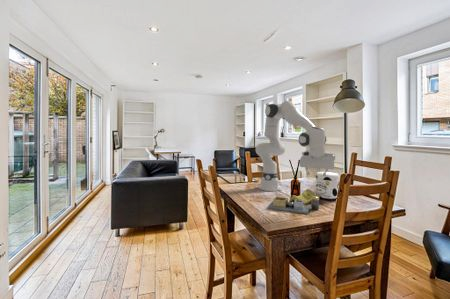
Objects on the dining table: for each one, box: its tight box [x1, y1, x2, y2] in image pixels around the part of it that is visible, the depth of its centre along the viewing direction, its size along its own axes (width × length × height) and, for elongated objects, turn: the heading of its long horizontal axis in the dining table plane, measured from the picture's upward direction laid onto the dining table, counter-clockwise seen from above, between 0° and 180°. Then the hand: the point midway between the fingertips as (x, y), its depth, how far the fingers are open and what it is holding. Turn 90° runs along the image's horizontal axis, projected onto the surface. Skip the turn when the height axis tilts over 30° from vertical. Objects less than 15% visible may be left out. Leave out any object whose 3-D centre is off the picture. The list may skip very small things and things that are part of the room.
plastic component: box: [288, 188, 316, 206], centre depth 169 cm, size 20×7×10 cm
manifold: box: [267, 196, 311, 215], centre depth 153 cm, size 12×24×6 cm, turn 65°
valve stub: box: [310, 196, 320, 211], centre depth 152 cm, size 4×4×8 cm
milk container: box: [313, 171, 340, 200], centre depth 178 cm, size 17×17×18 cm
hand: (316, 175), depth 151 cm, fingers open, 8 cm apart
